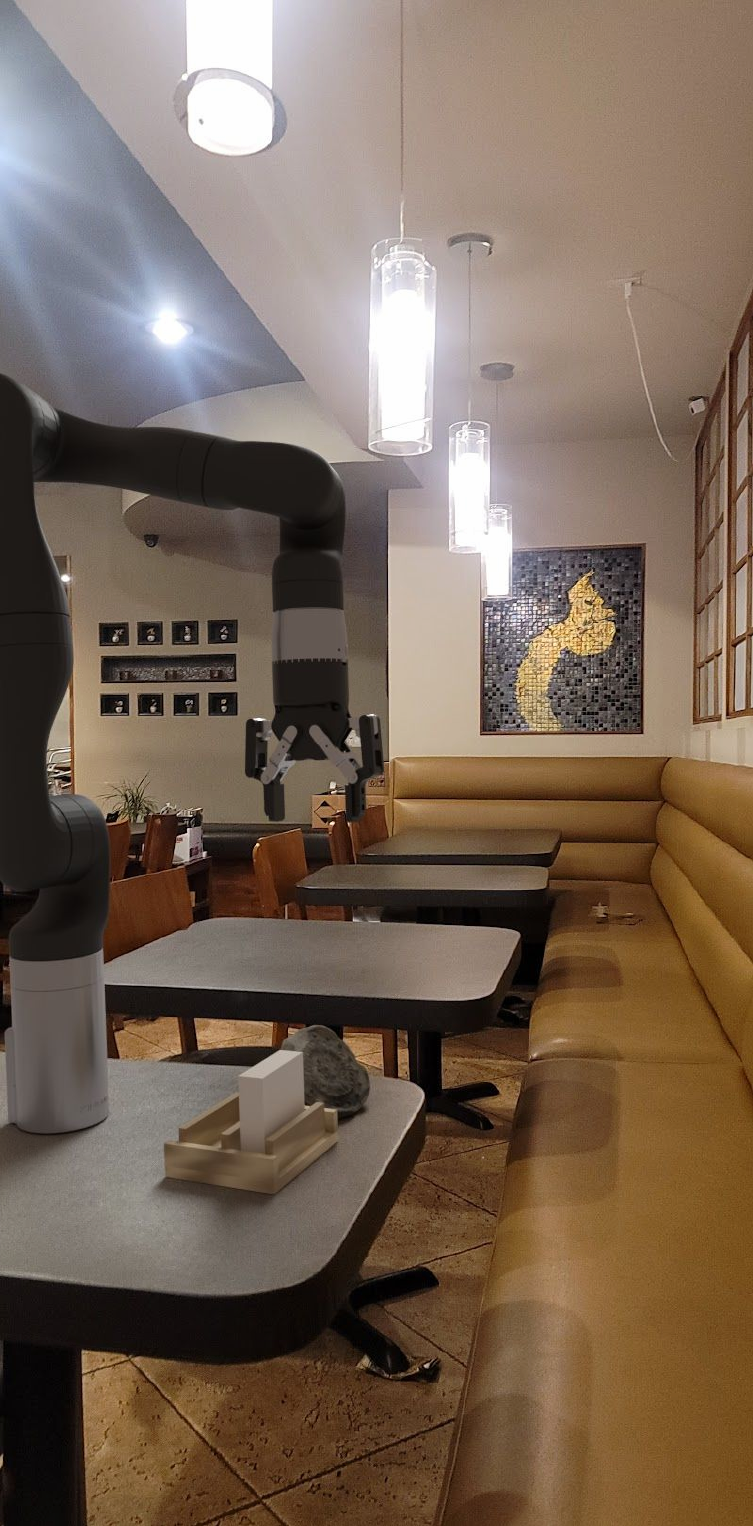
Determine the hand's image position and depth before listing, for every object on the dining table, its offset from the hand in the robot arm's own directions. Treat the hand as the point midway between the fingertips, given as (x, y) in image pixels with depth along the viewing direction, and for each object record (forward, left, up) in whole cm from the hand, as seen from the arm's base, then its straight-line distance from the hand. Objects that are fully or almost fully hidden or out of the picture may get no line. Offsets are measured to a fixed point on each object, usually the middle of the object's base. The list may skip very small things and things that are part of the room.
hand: (315, 821), depth 107 cm
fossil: (-2, +3, -30) cm, 31 cm away
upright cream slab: (0, -11, -29) cm, 31 cm away
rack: (-2, -11, -30) cm, 32 cm away
